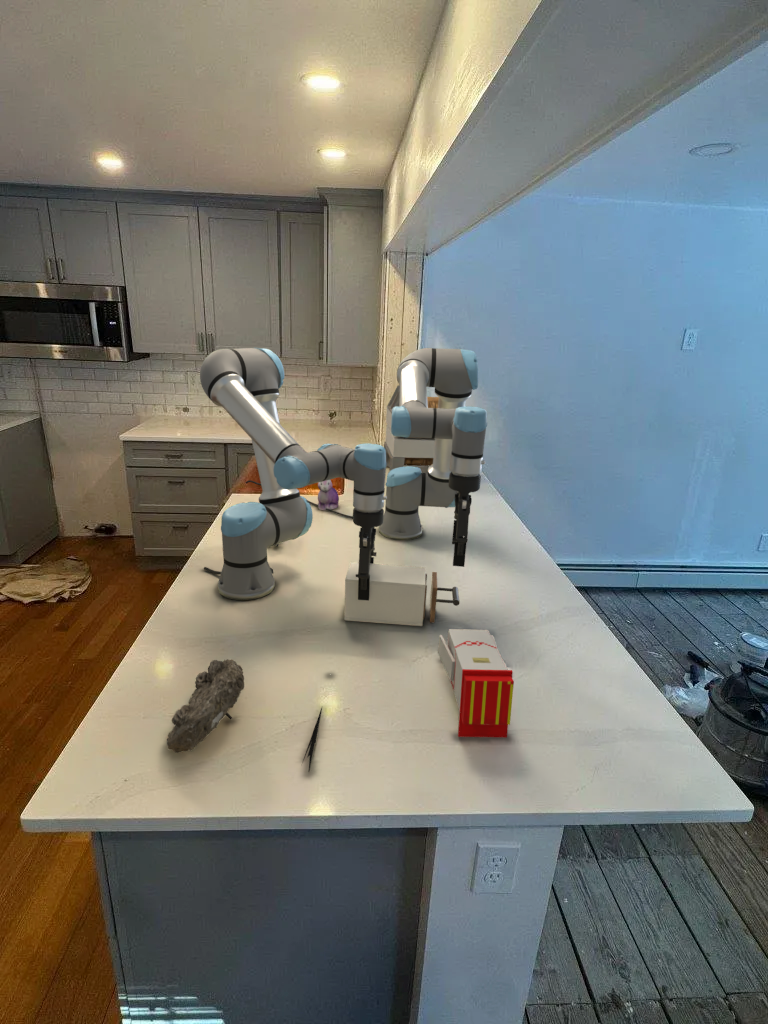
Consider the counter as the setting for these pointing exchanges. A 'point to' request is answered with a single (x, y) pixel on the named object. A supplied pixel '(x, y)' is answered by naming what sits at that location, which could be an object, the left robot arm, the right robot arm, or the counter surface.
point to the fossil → (206, 705)
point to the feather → (313, 740)
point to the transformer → (407, 441)
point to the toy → (478, 682)
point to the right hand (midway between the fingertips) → (457, 554)
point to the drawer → (434, 597)
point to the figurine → (327, 496)
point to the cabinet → (387, 595)
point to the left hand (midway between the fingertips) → (365, 589)
